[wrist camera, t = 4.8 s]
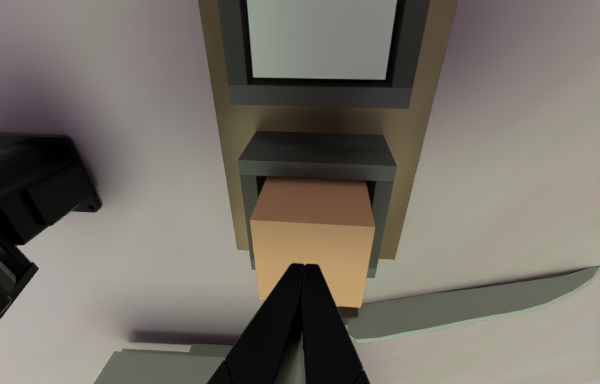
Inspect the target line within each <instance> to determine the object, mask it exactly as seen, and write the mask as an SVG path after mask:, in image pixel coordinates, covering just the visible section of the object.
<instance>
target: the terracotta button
mask: <svg viewBox="0 0 600 384" xmlns="http://www.w3.org/2000/svg"><path fill="white" fill-rule="evenodd" d="M250 225H251V234H252V242H253V251H254V259H255V268H256V276H257V285H258V293H259V300H266V298H267V297H268V295H269V294H270V293H271V291H272V290H273V288H274V287H275V285H276V284H277V283H278V281H279V280H280V278H281V277H282V275H283V274H284V273H285V271H286V270H287V268H288V267H289V265H290V264H291V263H303V264H304V265H305V264H307V263H309V264H318V265H319V266H320V268H321V271H322V273H323V275H324V278H325V280H326V282H327V285H328V287H329V289H330V292H331V294H332V296H333V299H334V301H335V303H336V306H344V307H356V308H361V305H362V299H363V294H364V288H365V282H366V277H367V271H368V265H369V260H370V254H371V249H372V243H373V237H374V232H375V223H374V218H373V214H372V209H371V204H370V199H369V195H368V190H367V185H366V180H348V179H325V178H302V177H279V176H267V178H266V180H265V183H264V185H263V188H262V190H261V193H260V195H259V198H258V201H257V203H256V206H255V208H254V211H253V213H252V216H251V218H250Z"/></svg>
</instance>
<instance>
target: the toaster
mask: <svg viewBox="0 0 600 384" xmlns="http://www.w3.org/2000/svg"><path fill="white" fill-rule="evenodd" d="M232 347H233V346H231V345H211V344H192V347H191V349H190V352H175V351H156V350H138V349H123V350H122V351H121V352H116V351H114V353H113V354H112V356H111V358H110V359H109V361H108V362H107V364H106V365H105V367H104V368H103V370H102V372H101V373H100V375H99V376H98V378H97V379H96V381H95V383H94V384H206V383H207V382H208V381H209V379H210V378H211V377H212V375H213V374H214V372H215V371H216V370H217V368H218V367H219V365H220V364H221V362H222V361H223V360H225V357H226V355H227V354H228V353H229V351H230V350H231V348H232ZM294 384H305V370H304V353H303V349H300V355H299V361H298V366H297V372H296V378H295V383H294Z"/></svg>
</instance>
